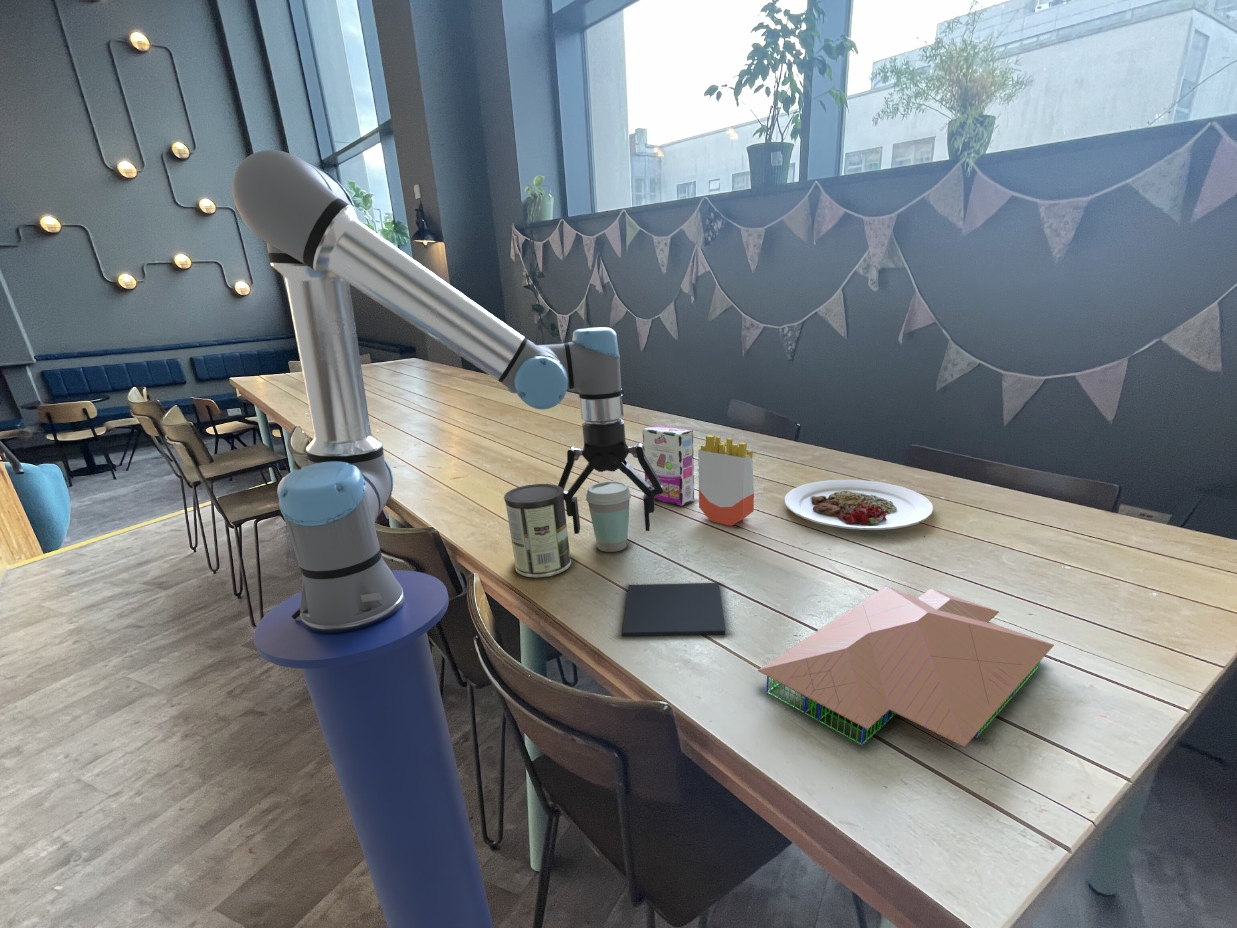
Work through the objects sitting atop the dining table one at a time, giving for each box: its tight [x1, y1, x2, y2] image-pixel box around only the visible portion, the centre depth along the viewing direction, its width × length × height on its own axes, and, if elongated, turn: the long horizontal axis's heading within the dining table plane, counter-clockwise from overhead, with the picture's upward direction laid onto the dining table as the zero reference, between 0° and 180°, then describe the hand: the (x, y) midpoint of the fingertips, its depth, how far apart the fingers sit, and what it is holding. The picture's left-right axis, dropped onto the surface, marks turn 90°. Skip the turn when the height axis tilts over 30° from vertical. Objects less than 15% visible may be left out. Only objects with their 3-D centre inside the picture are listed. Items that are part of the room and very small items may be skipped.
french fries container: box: [697, 434, 755, 527], centre depth 125 cm, size 5×11×18 cm, turn 50°
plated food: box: [784, 479, 934, 531], centre depth 131 cm, size 30×30×3 cm
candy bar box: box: [642, 425, 695, 507], centre depth 139 cm, size 11×5×16 cm, turn 49°
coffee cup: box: [585, 480, 632, 553], centre depth 117 cm, size 8×8×12 cm
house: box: [757, 585, 1055, 748], centre depth 76 cm, size 23×33×8 cm
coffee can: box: [503, 483, 572, 579], centre depth 109 cm, size 10×10×14 cm
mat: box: [621, 582, 726, 637], centre depth 96 cm, size 15×15×1 cm
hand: (612, 529), depth 118 cm, fingers open, 13 cm apart
